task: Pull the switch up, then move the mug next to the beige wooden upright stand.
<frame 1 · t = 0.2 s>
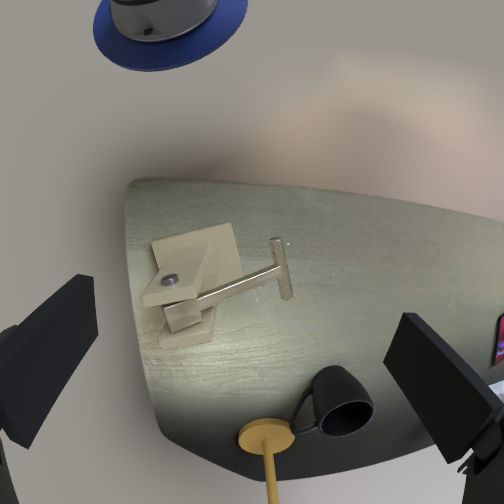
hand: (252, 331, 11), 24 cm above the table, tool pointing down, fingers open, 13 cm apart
mug: (318, 381, 42), on the table
tape dispenser: (486, 397, 50), on the table
lamp: (266, 434, 45), on the table
switch: (229, 290, 25), point 11 cm above the table, hinge at -25.0°
beige wooden upright stand: (199, 261, 36), on the table
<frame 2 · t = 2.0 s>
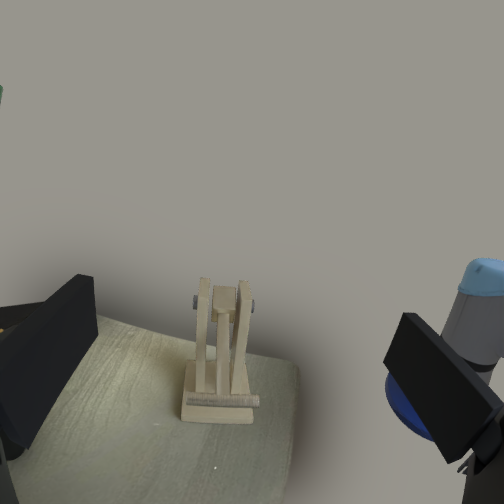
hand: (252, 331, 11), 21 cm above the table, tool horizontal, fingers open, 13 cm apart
mug: (12, 430, 18), on the table
switch: (222, 344, 25), point 11 cm above the table, hinge at -25.0°
beige wooden upright stand: (216, 393, 33), on the table
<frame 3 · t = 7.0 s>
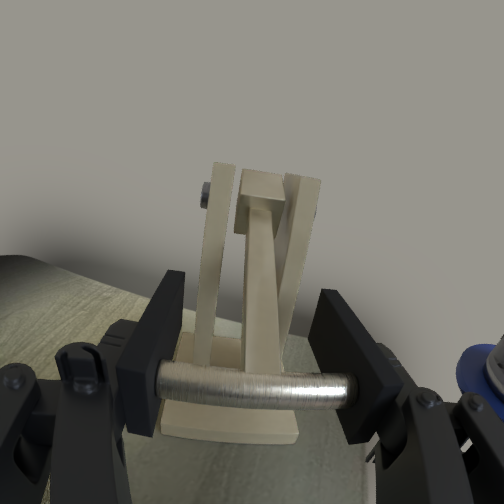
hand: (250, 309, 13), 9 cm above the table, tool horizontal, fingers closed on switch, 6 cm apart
switch: (259, 263, 12), point 11 cm above the table, hinge at -25.0°, touching gripper
beige wooden upright stand: (228, 388, 19), on the table
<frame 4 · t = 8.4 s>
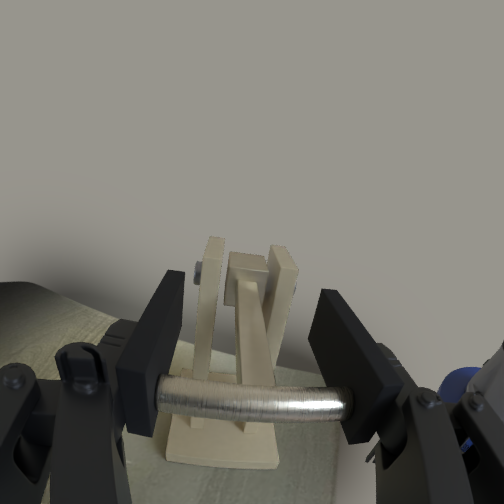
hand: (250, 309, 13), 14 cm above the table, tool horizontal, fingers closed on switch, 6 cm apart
switch: (248, 317, 13), point 13 cm above the table, hinge at 0.0°, touching gripper
beige wooden upright stand: (222, 420, 21), on the table
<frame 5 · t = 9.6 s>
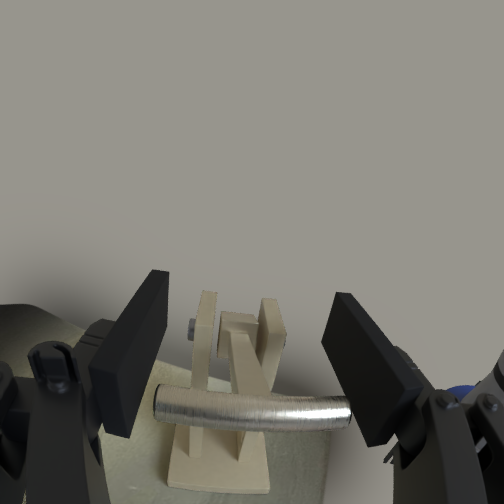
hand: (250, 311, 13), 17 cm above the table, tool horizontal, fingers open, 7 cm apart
switch: (241, 358, 13), point 15 cm above the table, hinge at 19.1°
beige wooden upright stand: (218, 448, 21), on the table
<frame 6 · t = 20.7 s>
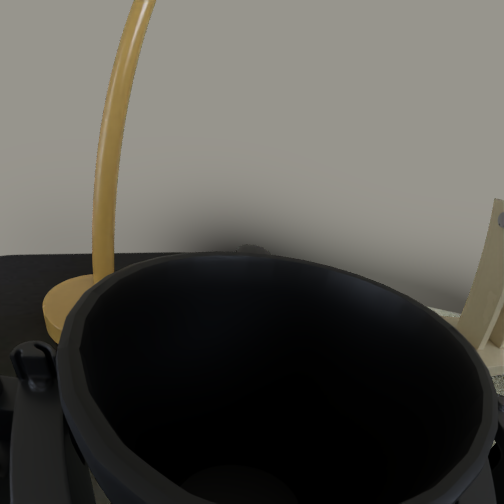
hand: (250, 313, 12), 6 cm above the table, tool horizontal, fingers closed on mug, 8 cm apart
mug: (235, 479, 10), on the table, touching gripper
lamp: (106, 317, 20), on the table
beige wooden upright stand: (475, 348, 22), on the table
when the fingers open (6 cm above the table, at t = 28.7 s): mug stays where it is, on the table.
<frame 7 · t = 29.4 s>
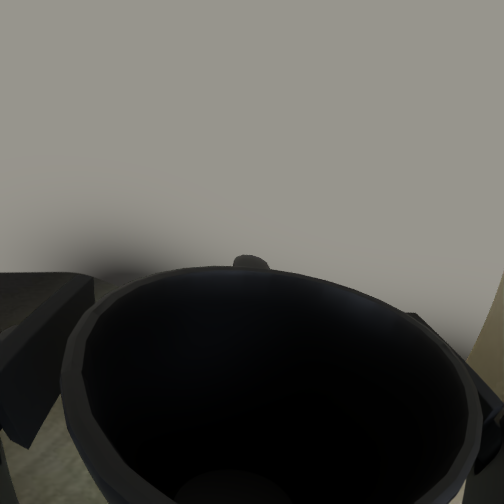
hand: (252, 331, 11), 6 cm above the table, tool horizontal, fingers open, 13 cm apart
mug: (232, 483, 10), on the table
beige wooden upright stand: (457, 453, 10), on the table
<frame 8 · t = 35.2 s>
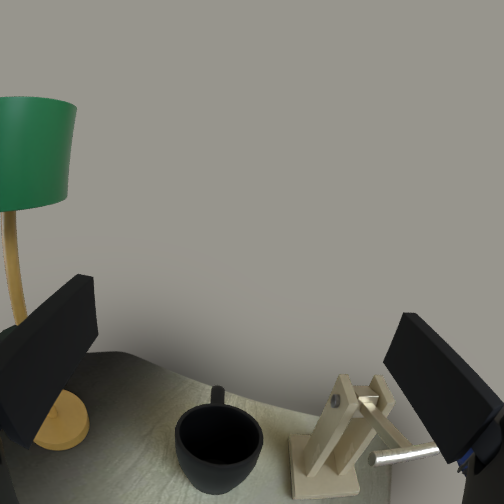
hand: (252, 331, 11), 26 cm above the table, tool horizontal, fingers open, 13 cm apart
mug: (213, 464, 27), on the table
lamp: (55, 421, 26), on the table
switch: (379, 422, 20), point 15 cm above the table, hinge at 19.1°
beige wooden upright stand: (321, 467, 28), on the table
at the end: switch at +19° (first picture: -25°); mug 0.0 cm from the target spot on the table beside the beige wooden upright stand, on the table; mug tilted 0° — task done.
